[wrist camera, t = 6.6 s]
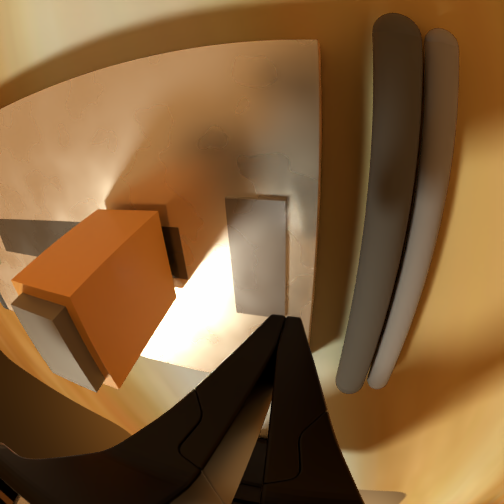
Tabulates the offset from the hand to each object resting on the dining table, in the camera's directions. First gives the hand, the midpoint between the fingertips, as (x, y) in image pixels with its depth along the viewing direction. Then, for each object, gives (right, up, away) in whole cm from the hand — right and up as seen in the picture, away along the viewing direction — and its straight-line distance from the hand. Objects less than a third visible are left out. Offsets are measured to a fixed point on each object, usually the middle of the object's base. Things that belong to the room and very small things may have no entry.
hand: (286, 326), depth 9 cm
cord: (+4, +2, +3) cm, 6 cm away
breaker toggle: (-6, +2, +4) cm, 7 cm away
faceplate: (-10, +4, +7) cm, 13 cm away
